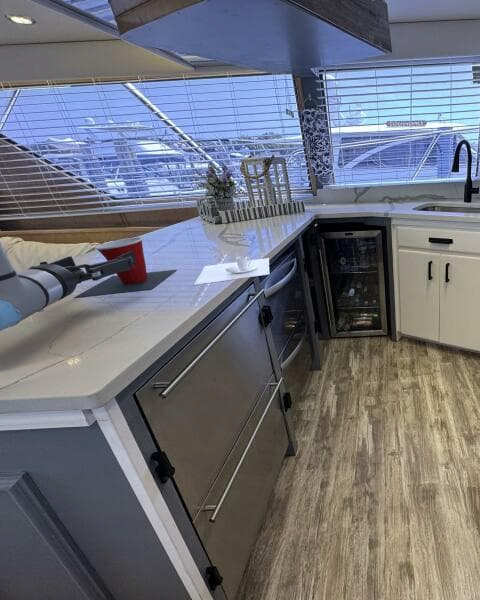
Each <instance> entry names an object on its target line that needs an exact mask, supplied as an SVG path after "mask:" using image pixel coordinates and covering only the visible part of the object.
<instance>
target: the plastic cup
mask: <svg viewBox="0 0 480 600" xmlns="http://www.w3.org/2000/svg"><path fill="white" fill-rule="evenodd" d="M143 240H144V239H143V237H142V236H135V237H129V238H122V239H117V240H116V239H115V240H113V241H109V242H105V243H104V242H103V243H101V244H98V245H96V246H94V249H95V250H97V251H98V252H99V253H100V255H102V256H103V258H105V259H106V261H110V260H114V259H116V257H119V256H121V255H123V254H125V253H127V252H129V251H133V253H134V256H135V258H136V261H135V262H134V263H133V265H134V268H132V269H128V271H122V272H119V273H116V274H115V275H116V276H118V277H119V278H120V280H121V281H122V282H123V284H126V285H127V284H136V283H140V282H143V281H145V280H147V273H148V272H147V264H146V259H145V254H144V247H143V246H144V245H143Z"/></svg>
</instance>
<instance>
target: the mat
mask: <svg viewBox="0 0 480 600" xmlns="http://www.w3.org/2000/svg"><path fill="white" fill-rule="evenodd" d="M177 271H178V269H170V270H160V271H159V270H158V271H149V272H147V280H145V281H143V282H140V283H136V284H127V285H126V284H123V282H122V281H121V280H120V278H119V277H118V275H111V276H110V277H108V278H106V279H105V280H103V281H101V282H99V283H97V284H95V285H94V286H92V287H90V288H88V289H86V290H85V291H83V292H80V294H77V295H75V296H74V297H73V299H76V298H77V299H78V298H86V297H94V296H95V297H96V296H105V295H114V294H115V295H116V294H122V293H123V294H124V293H131V292H133V293H134V292H140V291H141V292H142V291H151V290H153V289H155V288H156V287H157V286H159V285H160V284H161V283H163V282H164V281H165V280H166V279H168V278H169V277H170V276H171V275H173V274H174V273H175V272H177Z"/></svg>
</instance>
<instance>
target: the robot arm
mask: <svg viewBox="0 0 480 600" xmlns="http://www.w3.org/2000/svg"><path fill="white" fill-rule="evenodd" d="M135 261H136V258H135V256H134V253H133V251H129V252H127V253H125V254H123V255H121V256H119V257H116V259H114V260H110V261H107V260H106V261H102V262H96V263H93V264H89V263H88V264H87V263H82V264H78V265H76V263H75V261H74V258H73V256H66V257H63V258H60V259H58V260H56V261H53V262H50V263H48V262H47V261H40V262H39V265H31V266H30V267H29V268H28V269H24V270H21V271H18V272H16V270H15V269H14V267H13V265H12V263H11V262H10V258H9V257H8V255H7V253H6V251H5V249H4V247H3V244H2V242H1V241H0V332H1V331H4V330H6V329H8V328H12V327H14V326H17V325H18V324H19V323H20V322H22V321H24V320H26V319H27V318H29V317H31V316H32V315H34V314H36V313H42V312H44V311H45V309H46V308H47V307H49V306H51V305H53V304H55V303H56V302H60V301H61V300H63V299H66V298H67V297H68V296H70V295H72V294H73V293H74V292H75V291H76V288H77V285H79V284H81V283H83V282H87V281H91V280H92V281H93V282H96V281H99V280H101V279H103V278H107V277H109V276H114V275H117V274H116V273H119V272H122V271H128V269H132V268H134V265H133V263H134V262H135ZM83 268H84V270H85V271H84V270H83Z"/></svg>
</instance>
